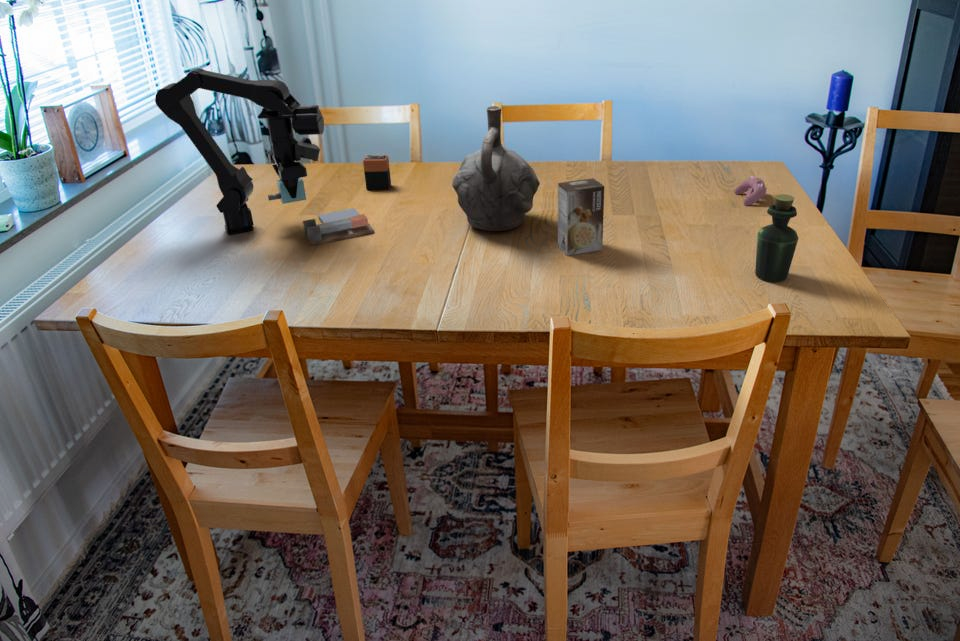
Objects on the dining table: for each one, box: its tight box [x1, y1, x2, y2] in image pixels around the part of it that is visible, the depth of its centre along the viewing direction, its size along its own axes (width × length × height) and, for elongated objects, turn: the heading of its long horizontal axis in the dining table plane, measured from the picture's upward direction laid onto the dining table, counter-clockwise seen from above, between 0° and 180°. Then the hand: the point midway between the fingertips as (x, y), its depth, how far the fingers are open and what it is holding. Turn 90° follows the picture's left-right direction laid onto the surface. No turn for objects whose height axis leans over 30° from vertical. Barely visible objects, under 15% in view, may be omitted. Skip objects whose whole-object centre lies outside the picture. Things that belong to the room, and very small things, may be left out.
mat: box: [317, 207, 361, 224], centre depth 199 cm, size 10×10×1 cm
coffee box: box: [557, 177, 605, 256], centre depth 175 cm, size 9×6×16 cm
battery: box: [362, 153, 392, 191], centre depth 218 cm, size 4×7×10 cm, turn 86°
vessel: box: [451, 105, 541, 232], centre depth 185 cm, size 24×22×30 cm
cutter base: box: [302, 218, 375, 246], centre depth 190 cm, size 16×6×4 cm, turn 113°
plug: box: [267, 177, 307, 205], centre depth 191 cm, size 9×4×5 cm, turn 113°
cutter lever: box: [311, 213, 369, 234], centre depth 190 cm, size 15×3×2 cm, turn 113°
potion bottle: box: [754, 193, 799, 283], centre depth 158 cm, size 8×8×18 cm
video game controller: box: [734, 175, 767, 207], centre depth 201 cm, size 10×5×7 cm, turn 0°
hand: (292, 195), depth 192 cm, fingers closed on plug, 4 cm apart
